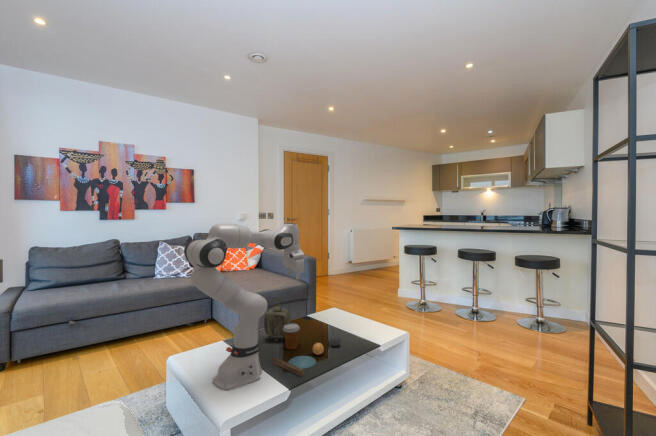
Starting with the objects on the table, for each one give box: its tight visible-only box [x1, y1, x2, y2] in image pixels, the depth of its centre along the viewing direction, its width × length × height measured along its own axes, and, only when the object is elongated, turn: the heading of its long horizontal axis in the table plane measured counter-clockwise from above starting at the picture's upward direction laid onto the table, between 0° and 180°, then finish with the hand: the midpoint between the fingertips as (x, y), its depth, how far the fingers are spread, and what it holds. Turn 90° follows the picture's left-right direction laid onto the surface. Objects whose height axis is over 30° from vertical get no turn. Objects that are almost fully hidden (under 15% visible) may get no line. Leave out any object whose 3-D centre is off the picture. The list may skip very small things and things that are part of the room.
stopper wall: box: [272, 357, 305, 377], centre depth 152 cm, size 2×20×2 cm, turn 48°
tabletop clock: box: [263, 298, 292, 343], centre depth 188 cm, size 14×9×25 cm, turn 84°
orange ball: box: [312, 342, 325, 356], centre depth 168 cm, size 6×6×6 cm
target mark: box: [287, 355, 317, 370], centre depth 159 cm, size 14×14×1 cm
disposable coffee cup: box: [283, 323, 301, 350], centre depth 178 cm, size 10×10×12 cm
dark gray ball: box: [329, 334, 341, 347], centre depth 179 cm, size 6×6×6 cm
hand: (293, 276), depth 171 cm, fingers open, 8 cm apart
